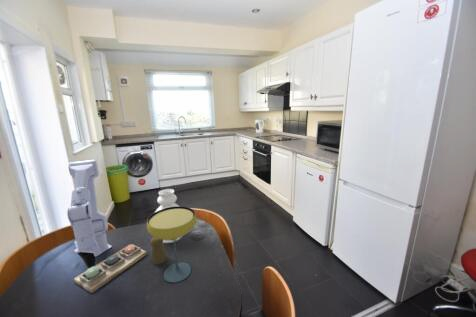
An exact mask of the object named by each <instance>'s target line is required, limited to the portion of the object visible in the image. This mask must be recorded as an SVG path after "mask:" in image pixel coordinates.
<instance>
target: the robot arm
mask: <svg viewBox="0 0 476 317" xmlns="http://www.w3.org/2000/svg"><path fill="white" fill-rule="evenodd" d="M68 172H69V175H70V176H71V177H72V178H73V179H74V180H75V182H74V183H75V189H74V190H72V191H71V199H70V200H71V201H70V207H68V208H67V220H68V222H69V223H70V226H71V228H72V230H73V234H74V239H75V241H73V242H74V246H75V247H76V249H73V252H74V253H75V254H77V255H78V256H79V257H80V258H81V259H82V260H83V262H84V264H85V266H86V267H87V269H89V268H91V267H94V266H95V265H96V258H97V257H98V256H100V255H101V254H102V253H104V252H106V251H108V250H110V249H112V248H113V246H112V245H110V244H109V243H108V239H107V233H106V231H107V230H108V229H109V228H108V227H109V223H108V222H109V221H108V219H107V215H106V214H105V213H104V212H101V211H99V206H98V201H97V193H96V187H95V178H97V177H99V175H100V174H99V173H100V172H99V166H98V162H97V160H96V159H90V160H89V159H88V160H81V161H80V160H79V161H74V162H73V161H70V162H69V163H68Z"/></svg>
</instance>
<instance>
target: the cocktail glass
mask: <svg viewBox="0 0 476 317" xmlns="http://www.w3.org/2000/svg"><path fill="white" fill-rule="evenodd" d="M196 223H197V215H196V212H195V210H193V209H192V208H190V207H187V206H180V205H179V207H169V208H165V209H162V210H159V211H157V212H155V211H154V213H152V214H151V215H150V216H149V217H148V218H147V220H146V229H147V232H148V234H149V235H150V236H152V238H153V237H155V238H158V239H163V240H169V239H170V240H172V241H174V242H173V246H174V248H173V249H174V257H175V258H174V260H175V263H173V264H171V265H169V266H168V267H167V268H165V270H164V272H163V278H164V280H165V281H166V282H168V283H171V284H172V283H180V282H183V281H184V280H186V279H187V278H188V277H189V276H190V275H191V272H192V267H191V266H190V264H189V263H187V262H181V261H180V262H179V261H178V255H177V246H176V241H175V240H177V238H179V237H181V236H182V237H183V236H185V235H187V234H188V233H189V232H191V231H192V230H193V229H194V227H195V225H196ZM182 237H181V238H182ZM177 241H178V240H177Z"/></svg>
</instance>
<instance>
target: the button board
mask: <svg viewBox="0 0 476 317" xmlns="http://www.w3.org/2000/svg"><path fill="white" fill-rule="evenodd" d="M128 246H135V251H134V252H132V253H131V254H129V255H127V254H125V251H124V249H125V248H126V247H128ZM115 254H116V255H118V258H119V261H118V262H117V263H115V264H114V265H112V266H108V265H107V262H106V259H107V258H105V259H104V260H102V261H100V262H99V263H97V264H95V265H94V266H97V267H99V272H100V273H99V274H98V275H97V276H95V277H94V278H92V279H87V278H86V274H85V272H86V271H87V270H85V271H84V272H82V273H81V274H79V275H78V276H76V277H74V278H73V280H74V282H75V283H76V284H77V285H79V287H82V288H83V289H84V290H85V291H88V292H89V293H91V294H93V293H95V292H96V291H97V290H98V289H99V288H100V289H101V287H103V286H104V285H106V284H107V283H108V282H110V281H111V280H113V279H114V278H116V277H117V276H118V275H120V274H122V273H123V272H124V271H125V270H127V269H128V268H130V267H131V266H133V265H134V264H135V263H137V262H138V261H140V260H141V259H143V258H144V257H145V256H146V255H147V254H148V252H147V251H146V250H144V249H142V248H141V247H140V246H137V245H135V244H132V243H131V244H128V245H127V246H124V247H123V248H121V249H120V250H118V251H116V252H115V253H113V254H112V255H115Z"/></svg>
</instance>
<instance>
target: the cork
mask: <svg viewBox="0 0 476 317" xmlns="http://www.w3.org/2000/svg"><path fill="white" fill-rule="evenodd" d="M163 244H164V243H163V239H158V238H155V237H153V236H152V238H151V239H150V245H151V247H152V248H151V262H152V264H153V265H160V264H162V263H165V262H166V260H167V255H166V252H165V249H164V246H163Z"/></svg>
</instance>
